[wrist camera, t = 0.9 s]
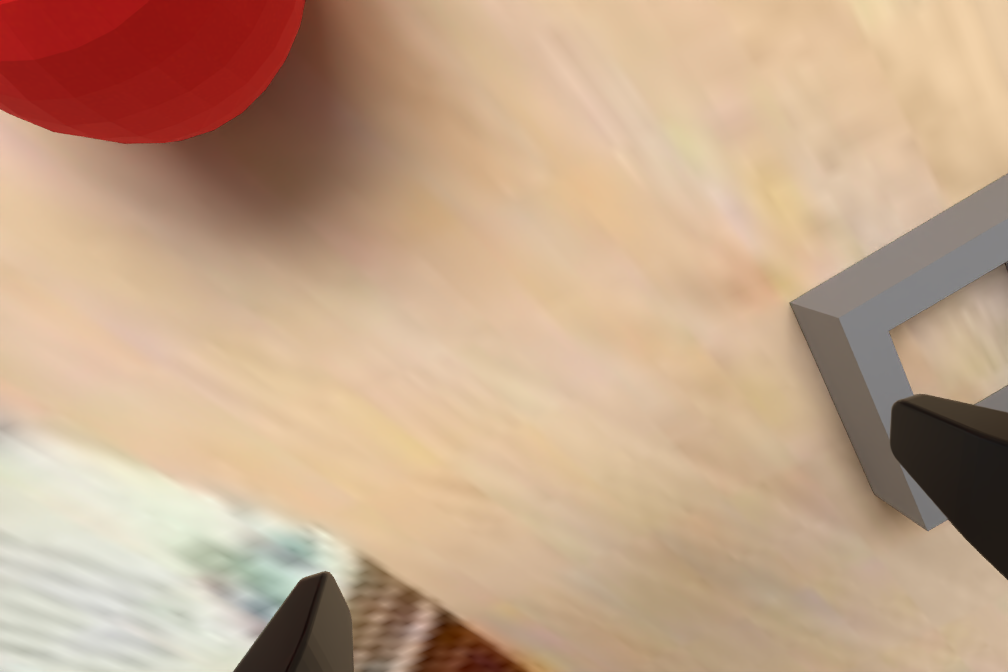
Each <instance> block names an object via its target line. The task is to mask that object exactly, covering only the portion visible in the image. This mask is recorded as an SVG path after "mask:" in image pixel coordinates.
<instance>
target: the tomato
mask: <svg viewBox="0 0 1008 672" xmlns="http://www.w3.org/2000/svg"><path fill="white" fill-rule="evenodd" d="M304 5H305V0H0V109H1V110H3V111H5V112H7V113H9V114H11V115H13V116H16V117H18V118H21V119H23V120H26V121H28V122H31V123H33V124H35V125H38V126H40V127H43V128H45V129H48V130H50V131H53V132H57V133H63V134H70V135H76V136H82V137H88V138H94V139H100V140H106V141H112V142H118V143H124V144H131V143H166V142H174V141H181V140H185V139H188V138H191V137H194V136H197V135H200V134H204V133H207V132H210V131H213V130H215V129H217V128H218V127H220V126H222V125H223V124H225V123H226V122H228V121H230V120H231V119H233V118H235V117H236V116H238V115H240V114H241V113H243V112H244V111H245V110H246V109H247V108H248V107H249V106H250V105H251V104H252V103H253V102H254V101H255V100H256V99H257V98H258V97H259V96H260V95H261V94H262V93H263V92H264V91H265V90H266V88H267V87H268V85H269V84H270V82H271V81H272V80H273V78H274V77H275V75H276V74H277V72H278V71H279V69H280V68H281V66H282V65H283V63H284V62H285V60H286V58H287V56H288V53H289V51H290V49H291V46H292V44H293V42H294V39H295V37H296V35H297V32H298V30H299V28H300V24H301V20H302V15H303V10H304Z"/></svg>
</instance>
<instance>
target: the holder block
mask: <svg viewBox="0 0 1008 672" xmlns="http://www.w3.org/2000/svg"><path fill="white" fill-rule="evenodd" d="M1003 263H1006V266H1007V269H1008V174H1006V175H1004V176H1003V177H1001V178H999V179H998V180H996V181H994V182H993V183H991V184H989V185H988V186H986V187H984V188H983V189H981V190H979V191H977V192H976V193H974V194H972V195H971V196H969V197H967V198H966V199H964V200H962V201H961V202H959V203H957V204H955V205H954V206H952V207H950V208H949V209H947V210H945V211H944V212H942V213H940V214H939V215H937V216H935V217H934V218H932V219H930V220H928V221H927V222H925V223H923V224H922V225H920V226H918V227H917V228H915V229H913V230H912V231H910V232H908V233H906V234H905V235H903V236H901V237H900V238H898V239H896V240H895V241H893V242H891V243H890V244H888V245H886V246H884V247H883V248H881V249H879V250H878V251H876V252H874V253H873V254H871V255H869V256H868V257H866V258H864V259H863V260H861V261H859V262H857V263H856V264H854V265H852V266H851V267H849V268H847V269H846V270H844V271H842V272H841V273H839V274H837V275H835V276H834V277H832V278H830V279H829V280H827V281H825V282H824V283H822V284H820V285H819V286H817V287H815V288H814V289H812V290H810V291H808V292H807V293H805V294H803V295H802V296H800V297H798V298H797V299H795V300H793V301H792V302H790V304H791V306H792V309H793V311H794V313H795V316H796V318H797V320H798V322H799V325H800V327H801V329H802V331H803V334H804V336H805V338H806V341H807V343H808V345H809V347H810V350H811V352H812V354H813V356H814V359H815V361H816V363H817V365H818V368H819V370H820V372H821V375H822V377H823V379H824V381H825V384H826V386H827V388H828V390H829V393H830V395H831V397H832V399H833V402H834V404H835V406H836V409H837V411H838V413H839V415H840V418H841V420H842V422H843V424H844V427H845V429H846V431H847V433H848V436H849V438H850V440H851V443H852V445H853V447H854V449H855V452H856V454H857V456H858V458H859V461H860V463H861V465H862V468H863V470H864V472H865V474H866V477H867V479H868V481H869V483H870V486H871V488H872V490H873V492H874V494H875V495H876V496H877V497H879V498H880V499H882V500H883V501H885V502H886V503H888V504H889V505H891V506H892V507H893V508H895V509H896V510H898V511H899V512H901V513H902V514H904V515H905V516H906V517H908V518H909V519H911V520H912V521H914V522H915V523H917V524H918V525H919V526H921V527H922V528H924V529H925V530H927V531H929V530H931V529H932V528H934V527H936V526H938V525H939V524H941V523H943V522H945V521H946V520H948V519H947V518H946V516H945V515H944V514H943V513H942V512H941V511H940V510H939V508H938V507H937V506H936V505H935V504H934V503H933V501H932V500H931V499H930V498H929V497H928V496H927V495H926V493H925V492H924V491H923V490H922V489H921V488H920V486H919V485H918V484H917V483H916V482H915V481H914V480H913V478H912V477H911V476H910V475H909V474H908V473H907V471H906V470H905V469H904V468H903V467H902V466H901V465H900V463H899V462H898V461H897V460H896V458H895V457H894V455H893V453H892V451H891V448H890V422H891V408H892V406H893V404H894V402H896V401H897V400H900V399H903V398H907V397H910V396H913V392H912V390H911V387H910V385H909V382H908V379H907V377H906V374H905V372H904V369H903V367H902V364H901V362H900V359H899V357H898V354H897V352H896V349H895V346H894V344H893V341H892V339H891V336H890V334H889V330H891V329H893V328H894V327H896V326H898V325H899V324H901V323H903V322H905V321H906V320H908V319H910V318H911V317H913V316H915V315H916V314H918V313H920V312H922V311H923V310H925V309H927V308H928V307H930V306H932V305H934V304H935V303H937V302H939V301H940V300H942V299H944V298H945V297H947V296H949V295H951V294H952V293H954V292H956V291H957V290H959V289H961V288H962V287H964V286H966V285H968V284H969V283H971V282H973V281H974V280H976V279H978V278H979V277H981V276H983V275H985V274H986V273H988V272H990V271H991V270H993V269H995V268H996V267H998V266H1000V265H1002V264H1003ZM975 405H977V406H981V407H986V408H990V409H995V410H1000V411H1004V412H1008V386H1006V387H1004V388H1003V389H1001V390H999V391H997V392H996V393H994V394H992V395H991V396H989V397H987V398H985V399H984V400H982V401H980V402H978V403H977V404H975Z"/></svg>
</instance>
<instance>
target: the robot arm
mask: <svg viewBox="0 0 1008 672" xmlns="http://www.w3.org/2000/svg"><path fill="white" fill-rule="evenodd" d="M890 448H891V451H892V453H893V455H894V457H895V458H896V460H897V461H898V462H899V463H900V465H901V466H902V467H903V468H904V469H905V470H906V471H907V473H908V474H909V475H910V476H911V477H912V478H913V480H914V481H915V482H916V483H917V484H918V485H919V486H920V488H921V489H922V490H923V491H924V492H925V493H926V495H927V496H928V497H929V498H930V499H931V500H932V501H933V503H934V504H935V505H936V506H937V507H938V508H939V510H940V511H941V512H942V513H943V514H944V515H945V516H946V518H947V519H948V520H949V521H950V522H951V523H952V525H953V526H954V527H955V528H956V529H957V530H958V531H959V532H960V533H961V534H962V536H963V537H964V538H965V539H966V540H967V541H968V542H969V543H970V544H971V545H972V546H973V547H974V548H975V549H976V550H977V551H978V552H979V553H980V554H981V555H982V556H983V557H984V558H985V559H986V560H987V561H988V562H989V563H991V564H992V565H993V566H994V567H995V568H996V569H997V570H998V571H999V572H1000V573H1001V574H1002V575H1003V576H1004V577H1005V578H1006V579H1007V580H1008V412H1004V411H1000V410H995V409H990V408H986V407H981V406H977V405H972V404H967V403H963V402H958V401H953V400H949V399H944V398H940V397H935V396H930V395H925V394H917V395H913V396H910V397H907V398H903V399H900V400H897V401H896V402H894V404H893V406H892V408H891V422H890ZM233 672H354V662H353V633H352V619H351V614H350V610H349V608H348V605H347V603H346V601H345V599H344V597H343V595H342V593H341V591H340V589H339V587H338V585H337V583H336V581H335V579H334V577H333V576H332V574H331V573H330V572H326V571H324V572H321V573H317V574H314V575H311V576H307V577H305V578H302V579H301V580H300V581H299V582H298V583H297V585H296V586H295V587H294V589H293V590H292V591H291V593H290V594H289V596H288V597H287V598H286V600H285V601H284V602H283V604H282V605H281V607H280V608H279V609H278V611H277V612H276V613H275V615H274V616H273V618H272V619H271V620H270V622H269V623H268V624H267V626H266V627H265V629H264V630H263V631H262V633H261V634H260V635H259V637H258V638H257V640H256V641H255V642H254V644H253V645H252V646H251V648H250V649H249V651H248V652H247V653H246V655H245V656H244V657H243V659H242V660H241V662H240V663H239V664H238V666H237V667H236V668H235V670H234V671H233Z"/></svg>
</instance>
